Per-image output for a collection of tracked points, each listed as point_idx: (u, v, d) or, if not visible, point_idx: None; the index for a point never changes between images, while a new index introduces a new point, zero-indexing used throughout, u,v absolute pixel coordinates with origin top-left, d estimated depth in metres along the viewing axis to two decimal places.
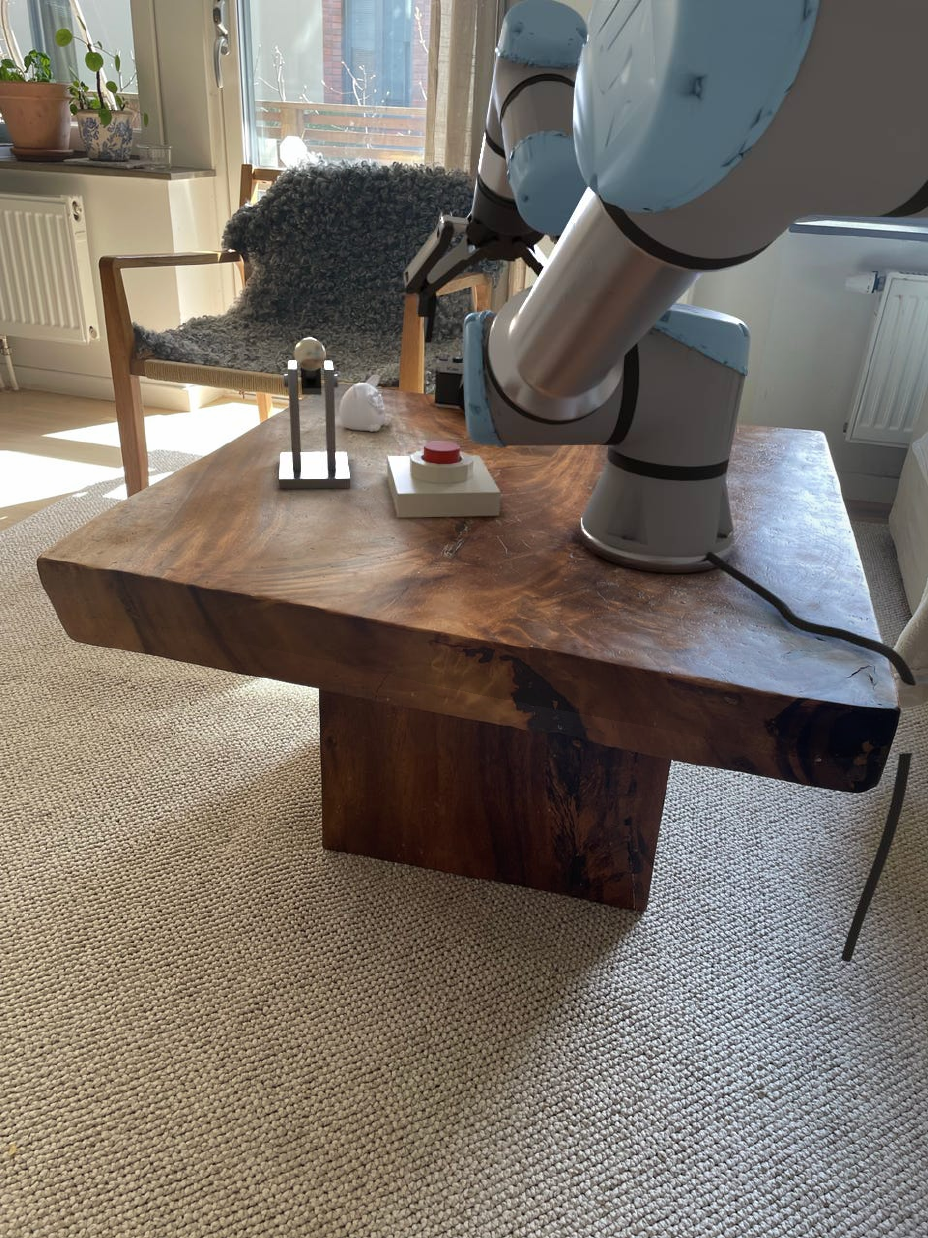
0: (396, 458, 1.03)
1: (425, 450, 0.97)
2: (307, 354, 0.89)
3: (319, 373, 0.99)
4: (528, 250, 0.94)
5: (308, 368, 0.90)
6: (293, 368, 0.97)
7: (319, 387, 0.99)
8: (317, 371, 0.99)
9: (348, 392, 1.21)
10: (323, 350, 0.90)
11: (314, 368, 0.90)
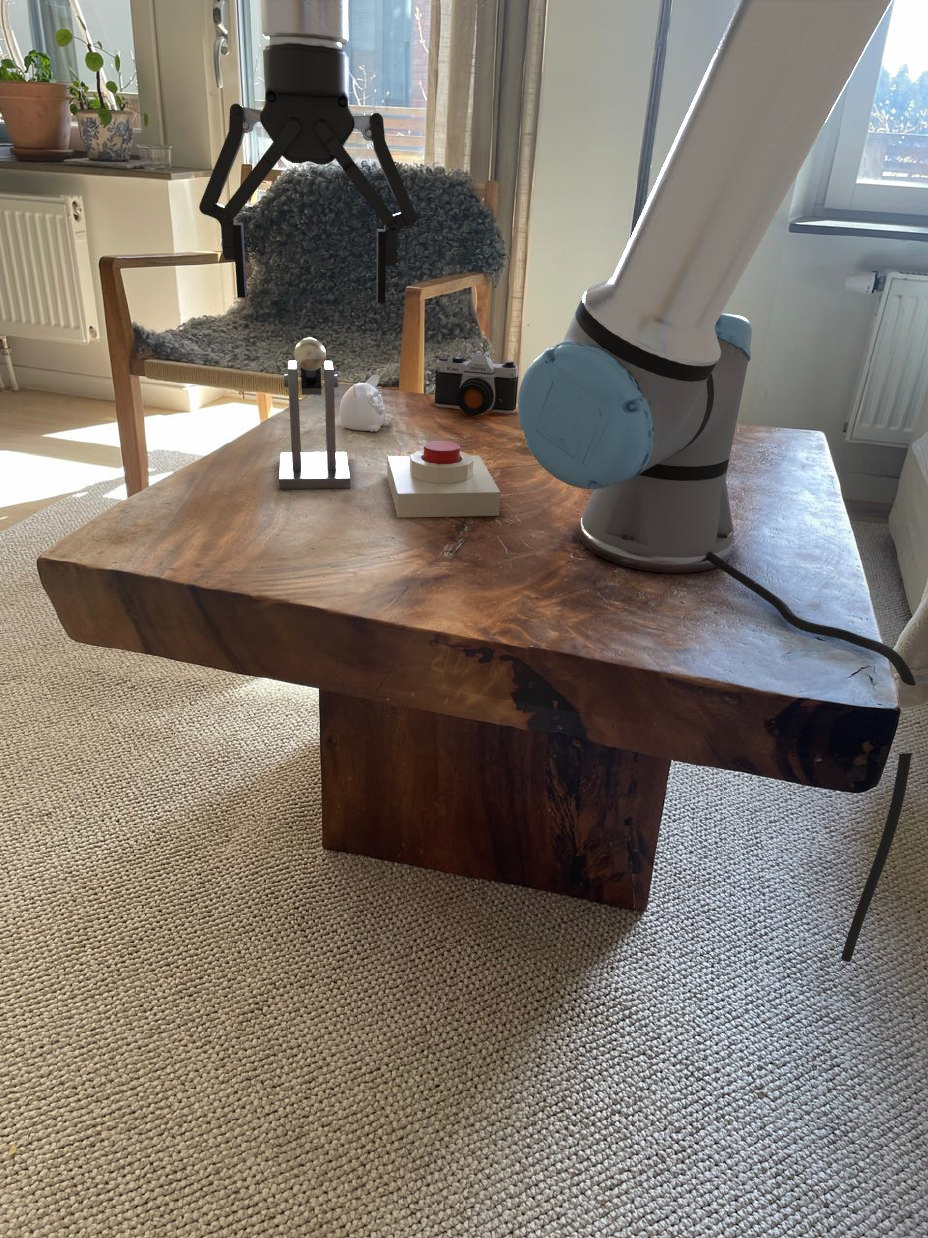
0: (396, 458, 1.03)
1: (425, 450, 0.97)
2: (307, 354, 0.89)
3: (319, 373, 0.99)
4: (336, 139, 0.81)
5: (308, 368, 0.90)
6: (293, 368, 0.97)
7: (319, 387, 0.99)
8: (317, 371, 0.99)
9: (348, 392, 1.21)
10: (323, 350, 0.90)
11: (314, 368, 0.90)
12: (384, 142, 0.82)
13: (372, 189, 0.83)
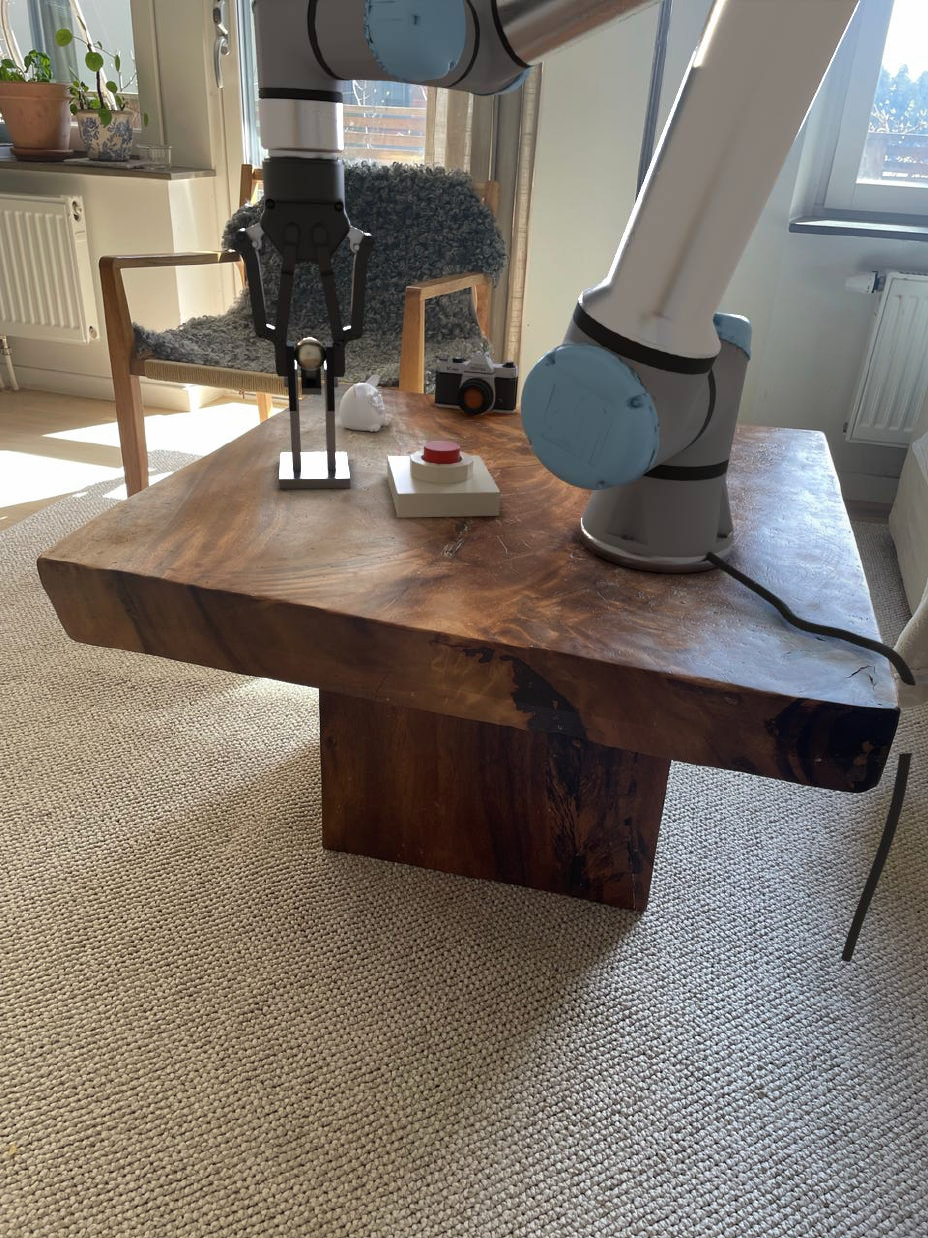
0: (396, 458, 1.03)
1: (425, 450, 0.97)
2: (307, 354, 0.89)
3: (319, 373, 0.99)
4: (327, 247, 0.84)
5: (308, 368, 0.90)
6: None
7: (319, 387, 0.99)
8: (317, 371, 0.99)
9: (348, 392, 1.21)
10: (323, 350, 0.90)
11: (314, 368, 0.90)
12: (366, 262, 0.86)
13: (336, 303, 0.87)
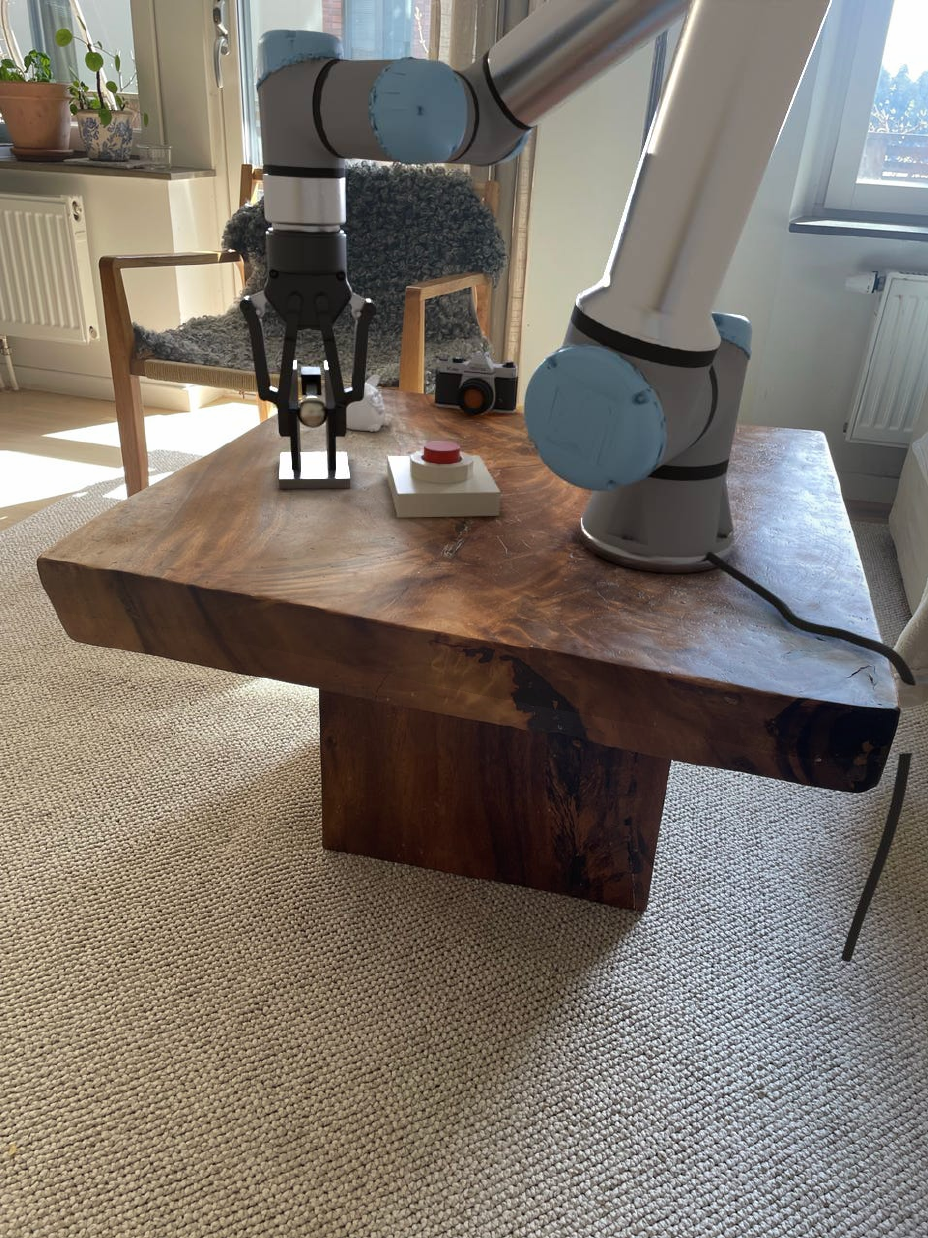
0: (396, 458, 1.03)
1: (425, 450, 0.97)
2: (310, 421, 0.91)
3: (319, 380, 0.99)
4: (329, 315, 0.86)
5: None
6: (293, 368, 0.97)
7: (319, 394, 1.00)
8: (317, 379, 0.99)
9: None
10: (325, 413, 0.91)
11: (316, 427, 0.93)
12: (367, 328, 0.88)
13: (338, 367, 0.89)
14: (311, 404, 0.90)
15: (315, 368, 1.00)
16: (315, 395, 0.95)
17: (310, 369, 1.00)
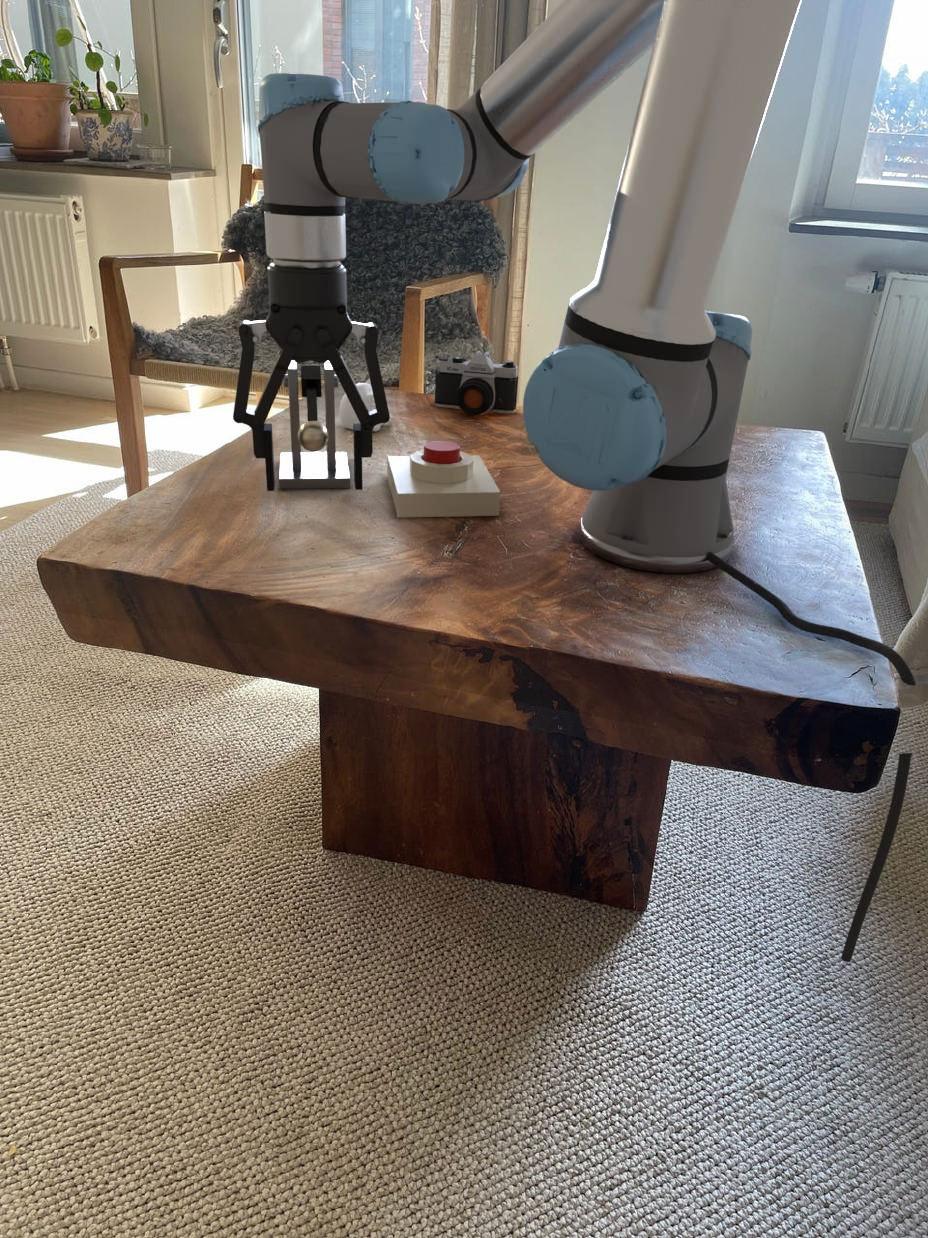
0: (396, 458, 1.03)
1: (425, 450, 0.97)
2: (311, 448, 0.93)
3: (319, 384, 0.99)
4: (333, 345, 0.88)
5: None
6: (293, 368, 0.97)
7: (319, 396, 1.00)
8: (317, 383, 0.99)
9: None
10: (326, 439, 0.93)
11: None
12: (375, 351, 0.89)
13: (356, 391, 0.91)
14: (312, 433, 0.92)
15: (315, 367, 1.00)
16: (316, 411, 0.96)
17: (310, 369, 1.00)
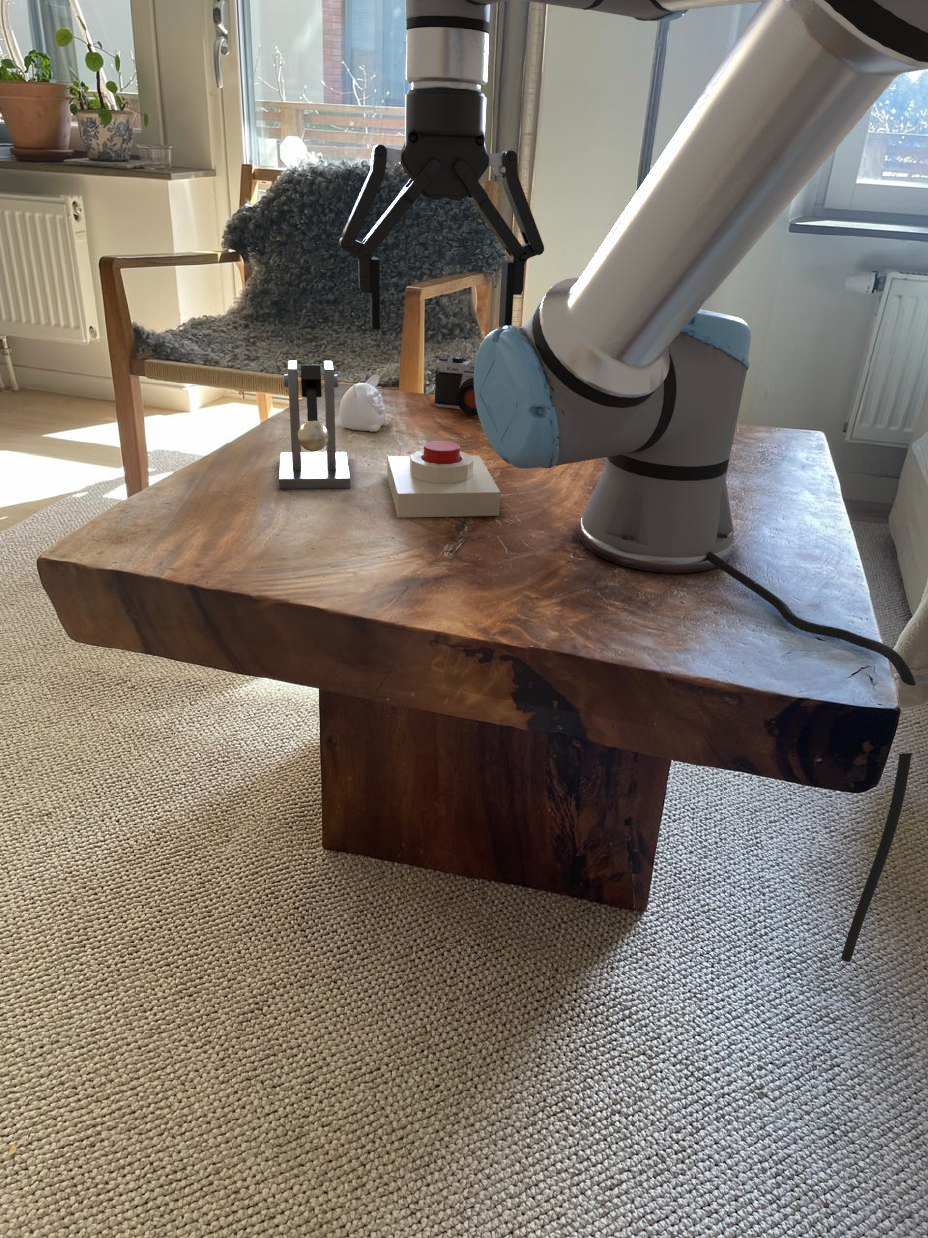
0: (396, 458, 1.03)
1: (425, 450, 0.97)
2: (311, 448, 0.93)
3: (319, 384, 0.99)
4: (473, 176, 0.84)
5: None
6: (293, 368, 0.97)
7: (319, 396, 1.00)
8: (317, 383, 0.99)
9: (348, 392, 1.21)
10: (326, 439, 0.93)
11: None
12: (517, 178, 0.85)
13: (504, 222, 0.87)
14: (312, 433, 0.92)
15: (315, 367, 1.00)
16: (316, 411, 0.96)
17: (310, 369, 1.00)
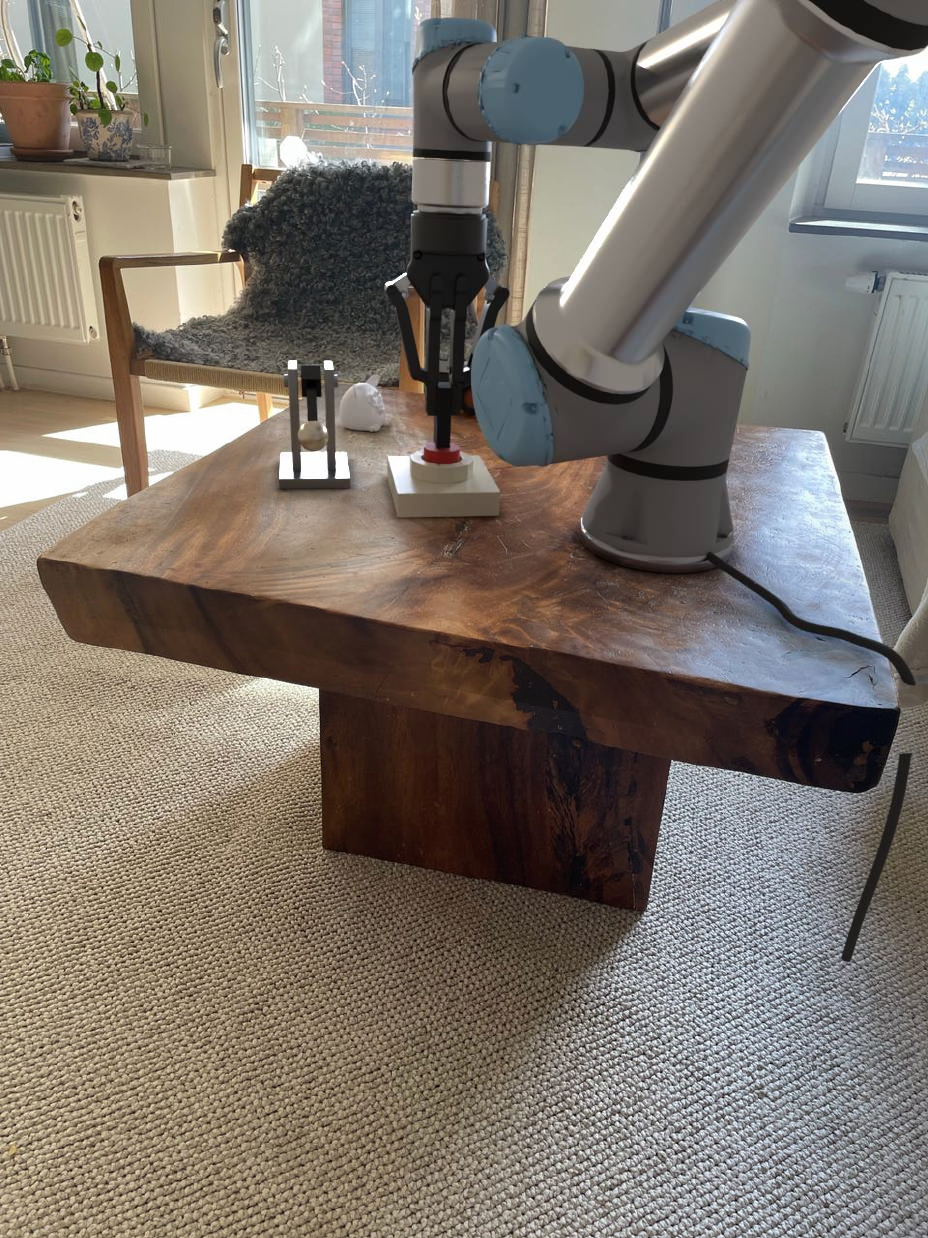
0: (396, 458, 1.03)
1: (425, 451, 0.97)
2: (311, 448, 0.93)
3: (319, 384, 0.99)
4: (466, 296, 0.89)
5: None
6: (293, 368, 0.97)
7: (319, 396, 1.00)
8: (317, 383, 0.99)
9: (348, 392, 1.21)
10: (326, 439, 0.93)
11: None
12: (497, 312, 0.91)
13: (463, 348, 0.92)
14: (312, 433, 0.92)
15: (315, 367, 1.00)
16: (316, 411, 0.96)
17: (310, 369, 1.00)
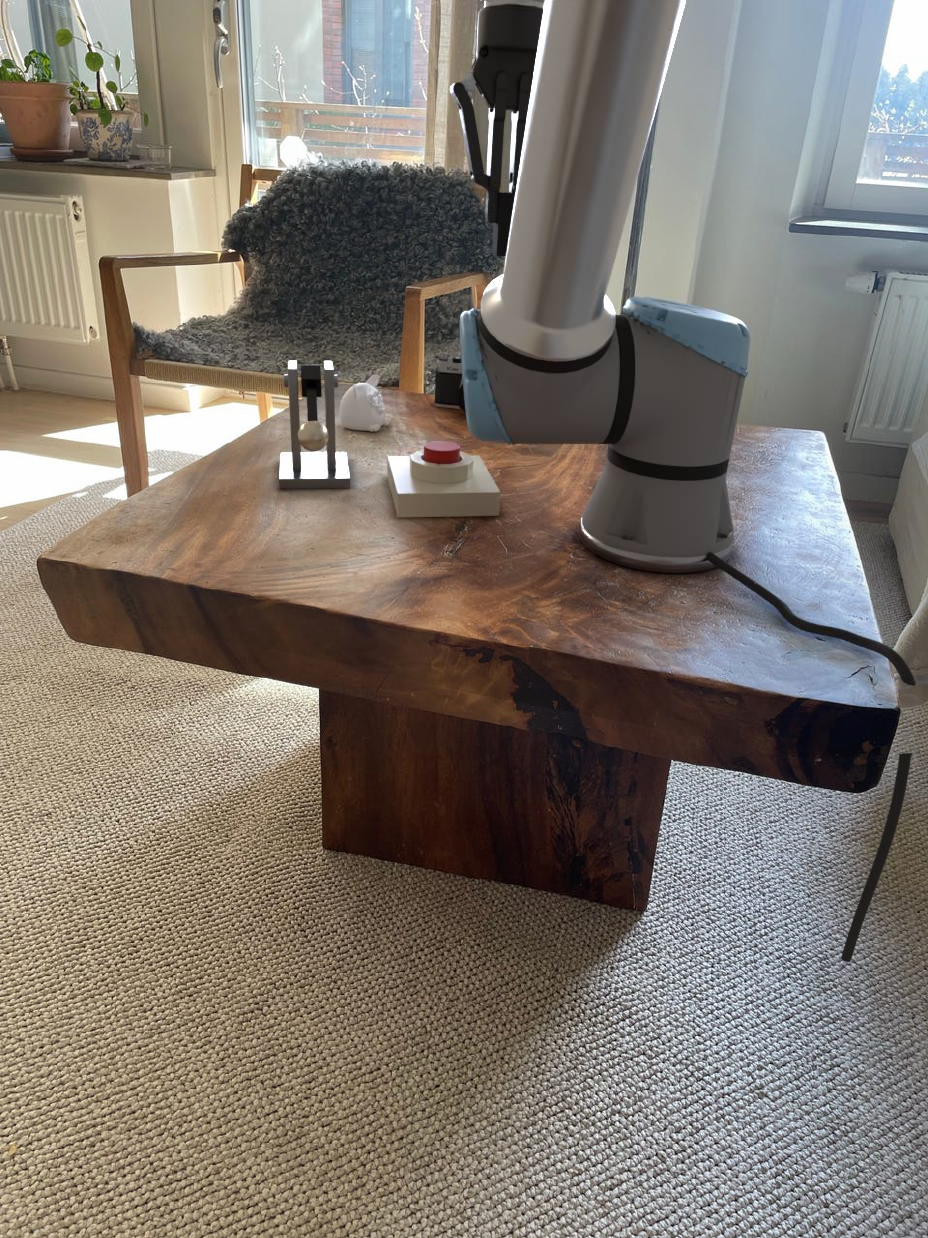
0: (396, 458, 1.03)
1: (425, 450, 0.97)
2: (311, 448, 0.93)
3: (319, 384, 0.99)
4: (529, 95, 0.93)
5: None
6: (293, 368, 0.97)
7: (319, 396, 1.00)
8: (317, 383, 0.99)
9: (348, 392, 1.21)
10: (326, 439, 0.93)
11: None
12: None
13: None
14: (312, 433, 0.92)
15: (315, 367, 1.00)
16: (316, 411, 0.96)
17: (310, 369, 1.00)
